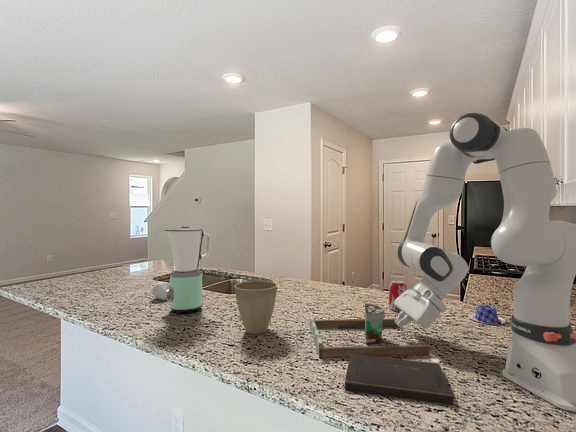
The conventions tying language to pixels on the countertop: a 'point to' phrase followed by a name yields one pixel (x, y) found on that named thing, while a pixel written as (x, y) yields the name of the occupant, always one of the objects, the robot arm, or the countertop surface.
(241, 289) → the plant pot
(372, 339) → the food container
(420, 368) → the hardcover book
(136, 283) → the countertop surface
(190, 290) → the green blender
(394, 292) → the soda can
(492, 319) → the blue plaid hat
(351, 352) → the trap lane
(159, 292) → the grey rock
